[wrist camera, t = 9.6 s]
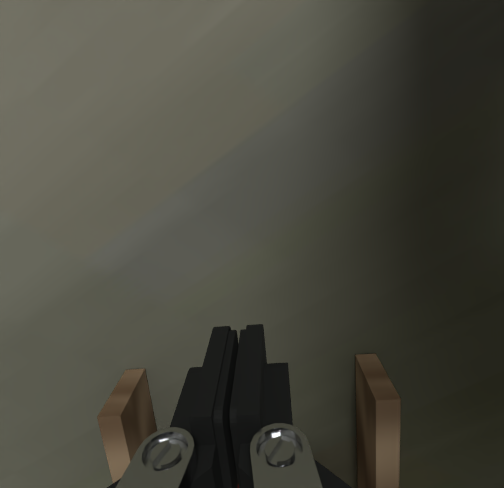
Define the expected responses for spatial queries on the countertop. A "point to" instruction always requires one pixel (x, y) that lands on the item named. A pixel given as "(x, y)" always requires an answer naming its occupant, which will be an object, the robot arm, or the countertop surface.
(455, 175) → the countertop surface
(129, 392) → the wooden tray
